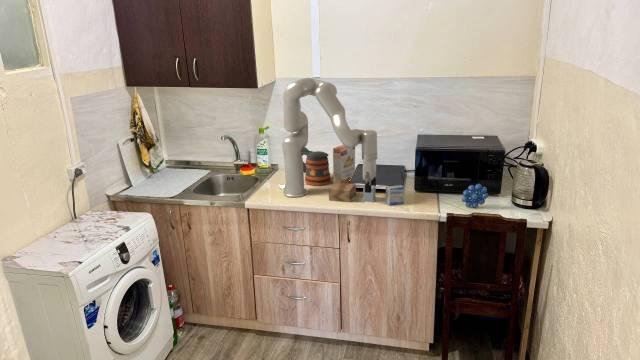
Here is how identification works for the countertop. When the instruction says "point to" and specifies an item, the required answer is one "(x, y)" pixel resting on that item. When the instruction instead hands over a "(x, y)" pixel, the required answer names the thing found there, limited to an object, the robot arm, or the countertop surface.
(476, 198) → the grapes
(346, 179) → the cracker box
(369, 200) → the slate box
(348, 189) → the walnut block
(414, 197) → the countertop surface
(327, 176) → the beer stein
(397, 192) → the medicine box
